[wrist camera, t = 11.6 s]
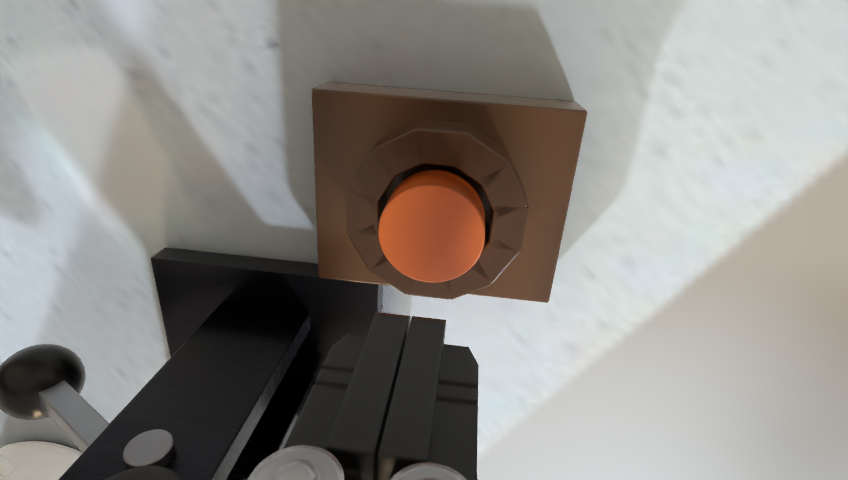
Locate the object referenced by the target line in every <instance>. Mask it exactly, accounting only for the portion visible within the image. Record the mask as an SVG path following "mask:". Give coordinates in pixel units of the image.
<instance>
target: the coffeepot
mask: <svg viewBox="0 0 848 480" xmlns="http://www.w3.org/2000/svg"><path fill="white" fill-rule="evenodd" d="M81 454H82V452H80V451H78V450H75V449H73V448H70V447H67V446H64V445H60V444H55V443H50V442H40V441H25V442H18V443H13V444H9V445H6V446H3V447H1V448H0V480H58V479H59V478H60V477H61V476H62V475H63V474H64V473H65V472H66V471H67V470H68V468H69V467H70V466H71V465H72V464H73V463H74V462H75V461H76V460H77V459H78V458H79V457H80V455H81Z"/></svg>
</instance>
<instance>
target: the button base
mask: <svg viewBox="0 0 848 480" xmlns="http://www.w3.org/2000/svg"><path fill="white" fill-rule="evenodd" d="M312 109H313V137H314V164H315V191H316V218H317V245H318V273H319V277H320V278H328V279H337V280H346V281H355V282H364V283H373V284H382V285H391V286H393V287H395V288H397V289H398V290H400V291H401V292H403V293H405V294H408V295H415V296H424V297H433V298H442V299H454V298H457V297H460V296H462V295H465V294H473V295H483V296H492V297H501V298H510V299H519V300H528V301H537V302H546V303H547V302H548V301H549V298H550V293H551V288H552V283H553V278H554V273H555V268H556V264H557V259H558V254H559V249H560V244H561V239H562V234H563V229H564V224H565V220H566V215H567V210H568V205H569V200H570V195H571V190H572V185H573V180H574V176H575V171H576V166H577V161H578V156H579V151H580V146H581V141H582V136H583V132H584V127H585V122H586V117H587V111H586V110H585V109H584V108H583V107H581V106H580V105H579V104H578V103H577V102H574V101H561V100H549V99H536V98H524V97H511V96H499V95H486V94H473V93H461V92H448V91H436V90H423V89H410V88H398V87H385V86H373V85H360V84H347V83H335V82H329V83H326V84H324V85H321V86H319V87H316V88H313V89H312ZM426 170H442V171H447V172H450V173H453V174H455V175H458V176H460V177H461V178H463V179H464V180H466V181H467V182H468V183H469V184H470V185H471V186H472V187H473V188H474V189H475V190H476V192H477V193H478V195H479V197H480V199H481V201H482V204H483V208H484V215H485V242H484V247H483V250H482V253H481V255H480V257H479V259H478V260H477V261H476V263H475V264H474V265H473V266H472V267H471V268H470V269H469V270H468V271H467V272H466V273H464V274H462V275H461V276H459V277H457V278H455V279H452V280H449V281H444V282H435V283H433V282H423V281H419V280H415V279H413V278H410V277H408V276H406V275H404V274H402V273H401V272H400V271H398V270H397V269H396V268H395V267H394V266H393V265H392V264H391V263H390V262H389V261H388V259H387V258H386V256H385V255H384V253H383V251H382V248H381V245H380V242H379V237H378V227H379V221H380V217H381V215H382V212H383V210H384V208H385V206H386V204H387V202H388V200H389V198H390V197H391V195H392V193H393V191H394V190H395V188H396V187H397V186H398V185H399V184H400V183H401V182H402V181H403V180H405V179H406V178H407V177H409V176H411V175H413V174H415V173H418V172H422V171H426Z"/></svg>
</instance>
